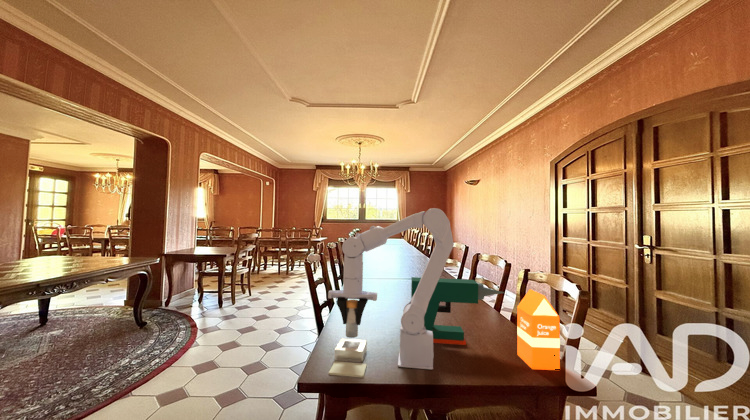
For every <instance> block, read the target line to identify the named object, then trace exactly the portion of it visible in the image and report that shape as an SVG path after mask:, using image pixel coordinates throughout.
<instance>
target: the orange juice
mask: <svg viewBox="0 0 750 420" xmlns="http://www.w3.org/2000/svg"><path fill="white" fill-rule="evenodd" d="M516 309H517V313H516V314H517V317H516V318H517V322H516V323H517V324H516V325H517V326H516V327H517V328H516V330H517V331H516V333H517V334H516V335H517V341H516V342H517V350H516V352H517V354H516V355H517V356H518V357H519V358H520V359H521V360H522V361H523V362H524V363H525V364H526V365H527V366H528V367H529V368H531V370H543V371H544V370H547V371H556V370H555V369H560V370H561V362H560V361H561V338H560V332H561V331H560V329H561V327H560V323H561V322H560V321H561V320H560V315H558V313H557V311H556V310H555V308H554V307H553V306H552V304H551V303H550V301H549V300H548V298H547V297H546V295H544V294H542V293H540V292H538V291H535V290H534V289H531V288H529V289H528V291H527V292H526V293H525V295H524V297H523V298H522V299H521V300H520V302H519V304H518V305H517V308H516ZM554 355H555V356H554Z"/></svg>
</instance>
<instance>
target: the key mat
mask: <svg viewBox="0 0 750 420" xmlns="http://www.w3.org/2000/svg"><path fill="white" fill-rule="evenodd" d="M367 366H368V365H367V363H359V362H347V361H336V360H334V362H333V363H332V366H331V367H330V369H329V371H328V375H329V376H330V375H331V376H340V377H350V378H351V377H353V378H364V377H365V373H366V370H367Z"/></svg>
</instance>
